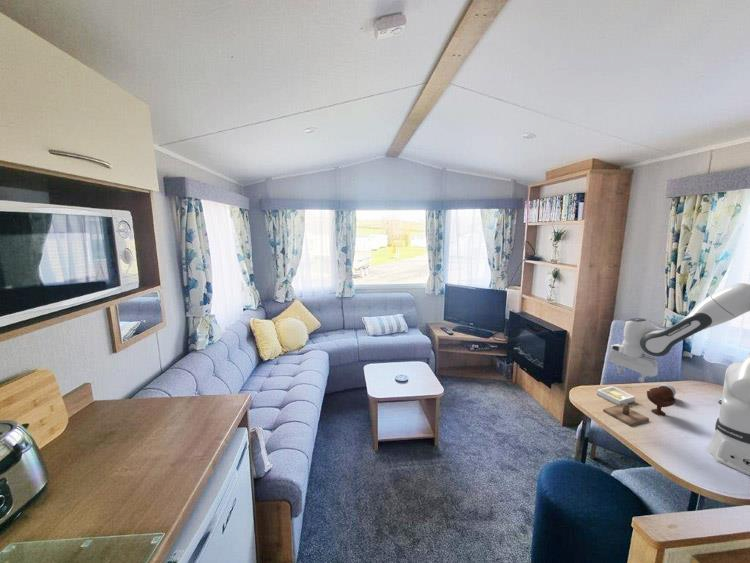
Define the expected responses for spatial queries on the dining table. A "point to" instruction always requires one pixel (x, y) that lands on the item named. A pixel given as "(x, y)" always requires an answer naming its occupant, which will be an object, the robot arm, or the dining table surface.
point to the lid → (626, 414)
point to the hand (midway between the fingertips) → (630, 377)
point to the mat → (622, 421)
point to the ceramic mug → (670, 388)
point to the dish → (614, 400)
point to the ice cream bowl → (661, 398)
